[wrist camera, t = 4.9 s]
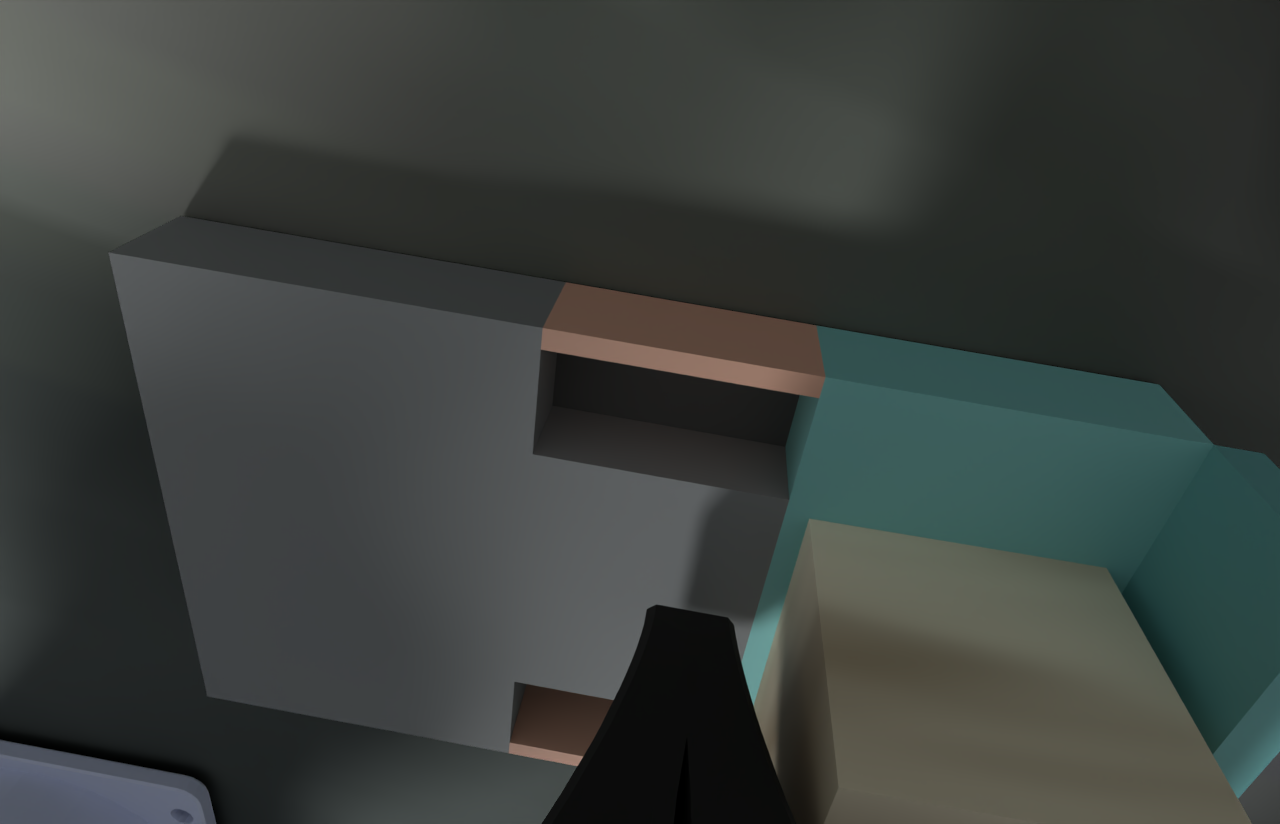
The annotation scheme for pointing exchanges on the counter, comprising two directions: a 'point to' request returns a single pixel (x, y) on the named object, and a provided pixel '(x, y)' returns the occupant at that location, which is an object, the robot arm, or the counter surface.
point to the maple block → (973, 693)
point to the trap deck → (625, 485)
